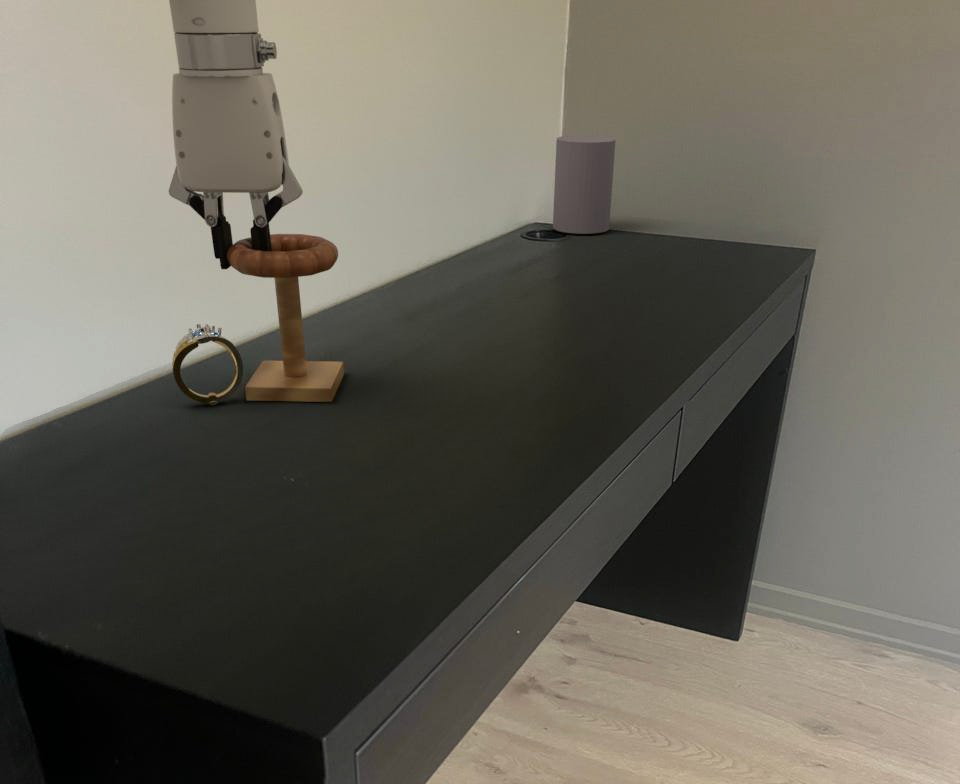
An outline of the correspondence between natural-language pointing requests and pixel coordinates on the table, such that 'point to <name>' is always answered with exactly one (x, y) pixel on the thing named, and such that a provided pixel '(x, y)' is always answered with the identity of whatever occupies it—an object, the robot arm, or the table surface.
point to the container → (583, 184)
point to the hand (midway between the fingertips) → (244, 264)
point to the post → (293, 359)
